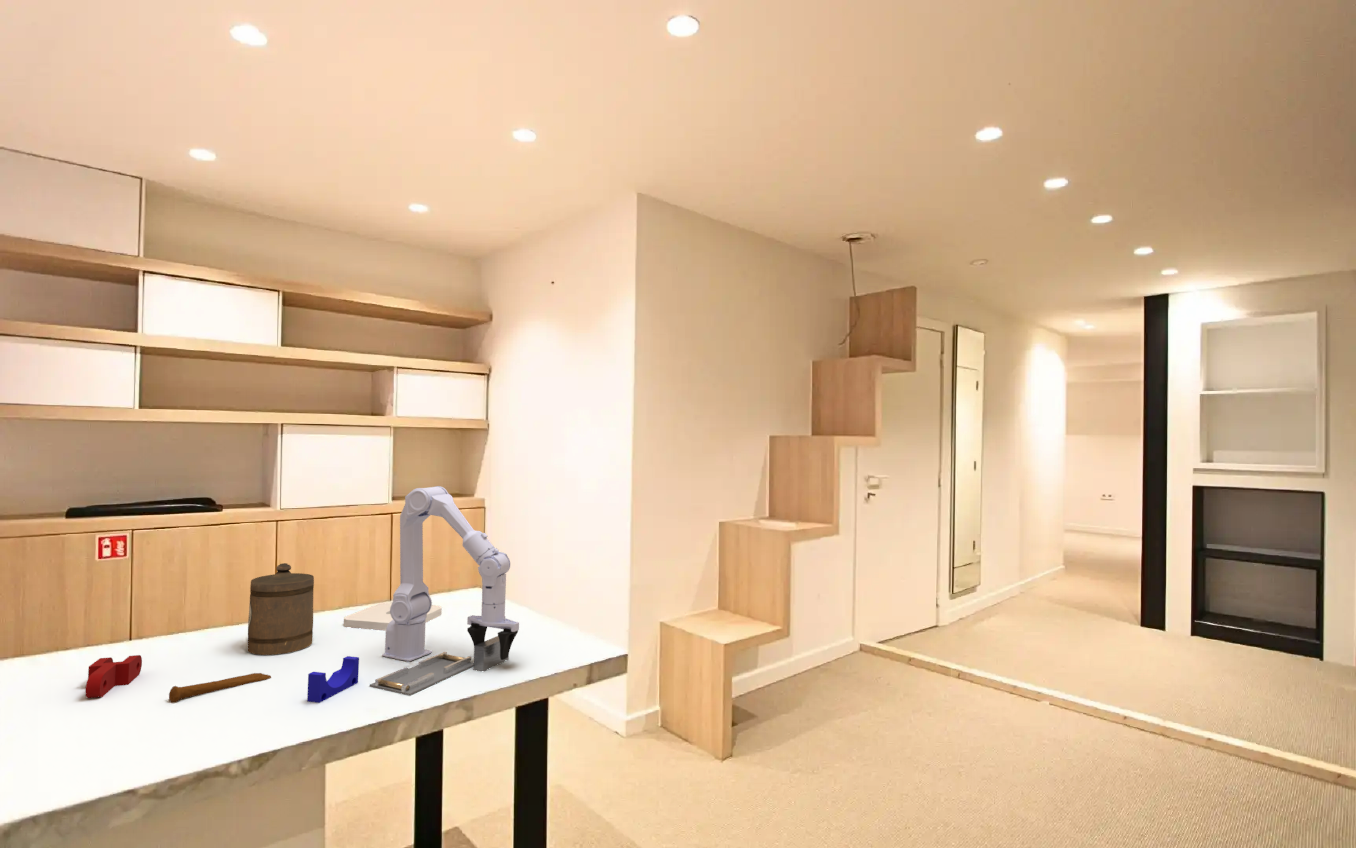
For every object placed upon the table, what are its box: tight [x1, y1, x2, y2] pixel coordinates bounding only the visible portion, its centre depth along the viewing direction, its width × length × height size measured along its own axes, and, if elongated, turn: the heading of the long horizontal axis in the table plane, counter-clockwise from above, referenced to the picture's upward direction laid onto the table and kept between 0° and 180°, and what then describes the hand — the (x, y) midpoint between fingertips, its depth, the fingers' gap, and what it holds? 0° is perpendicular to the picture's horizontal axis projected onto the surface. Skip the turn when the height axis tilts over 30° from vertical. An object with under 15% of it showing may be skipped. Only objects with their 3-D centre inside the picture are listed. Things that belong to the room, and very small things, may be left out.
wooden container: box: [247, 563, 315, 656], centre depth 174 cm, size 15×15×22 cm
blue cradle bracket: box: [306, 655, 360, 704], centre depth 145 cm, size 12×4×6 cm, turn 168°
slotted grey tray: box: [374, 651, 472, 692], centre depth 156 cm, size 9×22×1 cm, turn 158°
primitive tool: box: [168, 672, 272, 703], centre depth 145 cm, size 19×6×4 cm, turn 151°
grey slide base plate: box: [369, 659, 474, 696], centre depth 156 cm, size 12×22×1 cm, turn 158°
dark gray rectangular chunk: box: [472, 635, 510, 672], centre depth 165 cm, size 3×10×6 cm, turn 157°
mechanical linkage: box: [84, 654, 143, 699], centre depth 144 cm, size 16×7×5 cm, turn 23°
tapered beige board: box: [343, 601, 443, 632], centre depth 202 cm, size 22×22×3 cm
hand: (491, 656), depth 165 cm, fingers open, 7 cm apart
